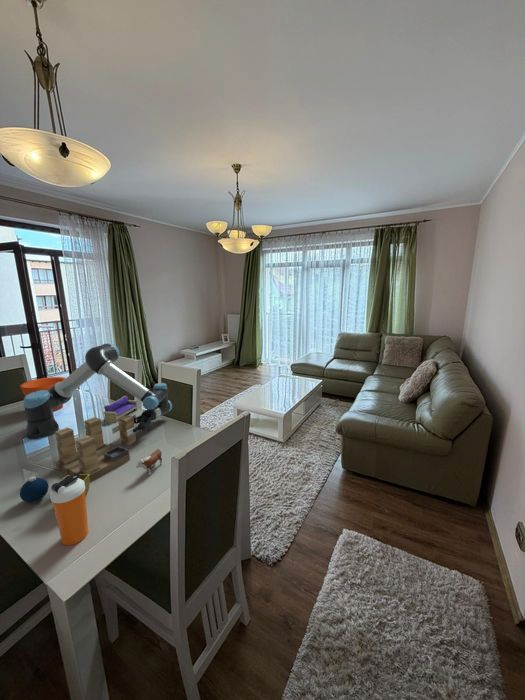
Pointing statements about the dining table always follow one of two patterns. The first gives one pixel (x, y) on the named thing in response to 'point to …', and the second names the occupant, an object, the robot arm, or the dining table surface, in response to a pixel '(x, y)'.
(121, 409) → the toy sofa
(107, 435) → the dining table surface
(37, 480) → the christmas ornament
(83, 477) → the flower pot
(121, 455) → the tan post-studded fixture
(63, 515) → the shaker bottle
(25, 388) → the flowerpot
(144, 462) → the bull figurine
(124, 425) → the stool leg
